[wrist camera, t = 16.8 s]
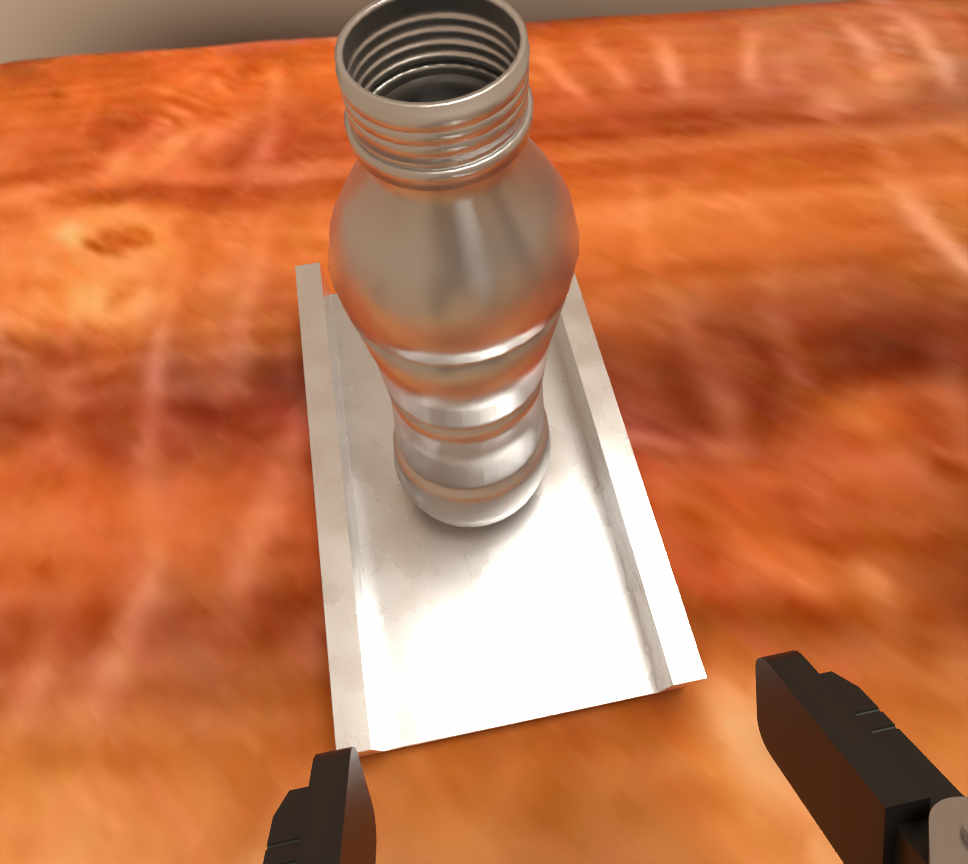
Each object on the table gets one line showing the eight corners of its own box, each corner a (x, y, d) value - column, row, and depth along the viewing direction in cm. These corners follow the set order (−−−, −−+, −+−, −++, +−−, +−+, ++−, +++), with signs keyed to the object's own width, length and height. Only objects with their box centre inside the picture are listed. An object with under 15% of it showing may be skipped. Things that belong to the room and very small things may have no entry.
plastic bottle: (372, 477, 30) (178, 59, 12) (474, 381, 32) (436, -94, 14) (475, 572, 28) (420, 235, 10) (578, 464, 30) (682, 27, 12)
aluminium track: (683, 688, 27) (706, 677, 24) (357, 757, 26) (336, 756, 23) (553, 268, 37) (557, 221, 33) (313, 309, 36) (295, 266, 33)
